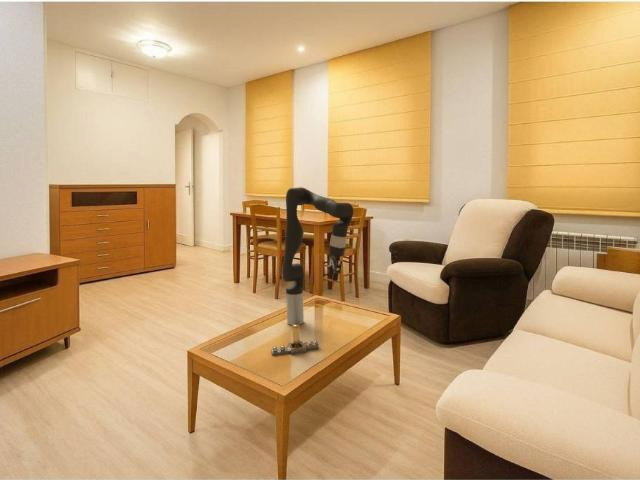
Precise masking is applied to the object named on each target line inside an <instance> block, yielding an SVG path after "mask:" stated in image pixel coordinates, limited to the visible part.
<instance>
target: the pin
mask: <svg viewBox="0 0 640 480" xmlns="http://www.w3.org/2000/svg"><path fill="white" fill-rule="evenodd" d="M291 326H292V327H291V329H292V330H291V331H292V342H293V348H296V347H300V341H301V337H300V332H301V331H300V325H299V324H293V325H291Z"/></svg>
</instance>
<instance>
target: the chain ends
mask: <svg viewBox="0 0 640 480" xmlns="http://www.w3.org/2000/svg"><path fill="white" fill-rule="evenodd" d="M286 346H287V347H286ZM286 346H285V345H284V344H283V345H282V344H281V345H280V347H279V348H278V347H277V345H276V346H272V349H270V352H271V356H272V357H274V356H278V355H286V354H290V355H291V356H292V355H299V354H304V353H305V354H306V353H307V351H314V350H319V349H320V347H319V346H320V345H319V340H313V341H311V340H309V341H306V342H303V341H301V340H300V347H296V348H293V341H291V342H287V343H286Z"/></svg>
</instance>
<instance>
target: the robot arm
mask: <svg viewBox="0 0 640 480" xmlns="http://www.w3.org/2000/svg"><path fill="white" fill-rule="evenodd" d="M304 205H309V206H313V207H314V208H315V209H316V210H317V211H319V212H322V213H325V214H327V215H330V216H331V217H333V218H335V219H339V220H338V221H336V222H334V223H333V224H332V229H331V230H332V231H331V236H330V241H329V247H328V254H329V257H328V263H327V264H328V275H329V276H332V281H333V282H337V281H338V278H339V274H341V272H342V265H343V260H341V257H344V256H345V252H346V245H347V235H348V228H349V227H350V223H351V222H352V219H353V216H354V207H353V205H352V204H351V203H349V202H337V201H336V200H334V199H332V198H328V197H325V196H322V195H319V194H316V193H315V192H313V191H311V190H309V189H308V188H306V187H301V186H299V187H290V188H289V189H288V190H287V191H286V195H285V207H286V208H285V209H286V212H285V213H286V219H285V220H286V221H285V224H286V226H285V235H284V237H285V238H284V239H285V241H284V242H285V243H284V255H283V256H284V257H283V262H282V268H281V269H282V270H281V271H282V274H281V275H282V278H283V281H285V282H292V283H291V284H290V285H288V286H287V287H286V289H285V297H286V322H287V324H288V325H289V324H290V326H292V325H293V324H299V326H300V325H303V324H304V322H305V320H304V319H305V318H304V317H305V316H304V314H305V313H304V294H303V292H304V291H303V290H304V279H305V277H304V275H305V273H304V268H303V265H302V264H301V263H299V262H297V263H293V261H294V259H295V255H296V254H297V252H298V251H299V249H300V248H301V246H302V244H303V240H304V237H303V236H304V228H303V226H302V224H301V222H300V220H299V217H298V206H304Z"/></svg>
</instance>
